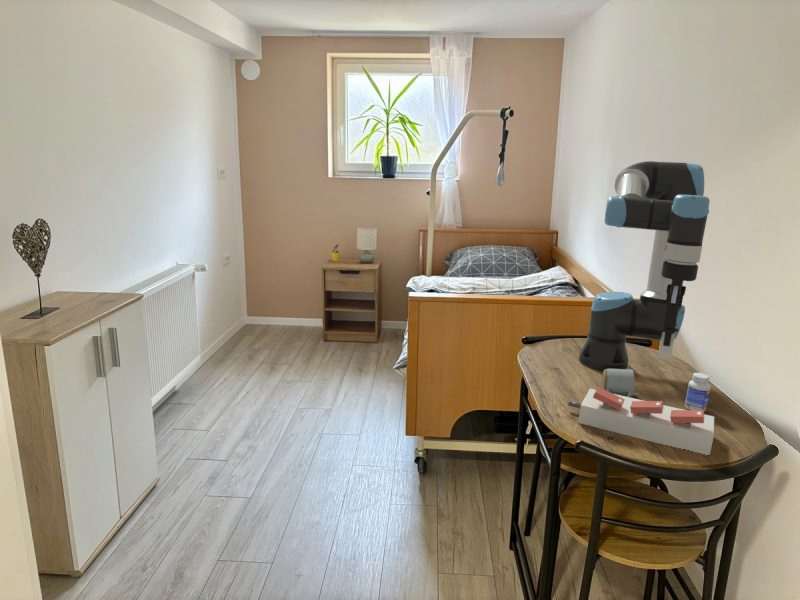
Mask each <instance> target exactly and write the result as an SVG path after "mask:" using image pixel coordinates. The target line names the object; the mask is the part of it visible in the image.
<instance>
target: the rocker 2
mask: <svg viewBox="0 0 800 600" xmlns="http://www.w3.org/2000/svg"><path fill="white" fill-rule="evenodd" d="M663 405H664V401H663V400H643V401H632V404H631V407H630V409H631V413H651V414H662V412H663V408H664V407H663Z"/></svg>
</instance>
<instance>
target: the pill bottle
mask: <svg viewBox="0 0 800 600" xmlns="http://www.w3.org/2000/svg"><path fill="white" fill-rule="evenodd" d="M709 382H710V375H708V374H707V373H706V374H705V373H702V372H694V373H693V374H692V379H691V380H690V381H689V382H688V384H687V385H688V386H687V391H686V396H685V403H684V406H685V408H686V410H704V412H706V411H707V409H708V408H707V407H708V404H709V397H710V391H711V387H712V386H711V384H710V383H709Z"/></svg>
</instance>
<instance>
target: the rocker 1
mask: <svg viewBox="0 0 800 600" xmlns="http://www.w3.org/2000/svg"><path fill="white" fill-rule="evenodd" d="M595 390H596V391H595V394H594V396H593V398H595V399H597V400H599V401H601V402H603V403H605V404H607V405H609V406H611V407H613V408H615V409H617V410H619V411H620V409H621V407H622V405H623V403H624V400H625V399H623V398H621V397H619V396H617V395H614V394H612V393H610V392H608V391H606V390H604V389H602V387H600V386H597V388H596V389H595Z"/></svg>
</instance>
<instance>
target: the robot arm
mask: <svg viewBox="0 0 800 600" xmlns="http://www.w3.org/2000/svg"><path fill="white" fill-rule="evenodd" d="M615 178H616V179H615V182H614V190H615V193H616V196H609V197H608V198H607V201H606V206H605V207H606V208H605V215H604V224H605V225H607V226H611V227H616V228H626V229H628V228H629V229H639V230H640V229H641V230H650V231H655V233H654V237H653V238H654V240H653V245H652V246H653V247H652V253H651V259H650V265H649V273H648V277H647V285H646V289H645V290H644V291H643V292H641V293H640V296H639V299H634V297H633V294H631V293H629V292H623V291H606V292H601V293H598V294H595V296H594V297H593V300H592V306H591V308H590V310H591V311H590V312H591V313H590V317H589V318H590V320H589V326H588V332H587V337H586V340H585V342H584V344H583V346H582V348H581V350H580V351H579V356H578V357H579V358H578V360H579V362H580V363H581V364H583V365H584V366H586V367H589V368H591V369H595V370H598V371H604V370H605V369H628V366H629V355H628V349H627V344H626V341H627V336H628V337H634V338H642V339H648V340H656V341H658V342H660V346H659V349H658V350H659V351H658V356H657V358H661V359H667V360H671V359H672V358H671V357H672V352H673V347H674V340H675V339H677V337H678V335H679V333H680V330H681V327H682V325H683V321H684V317H685V312H686V306H685V305H684V304H683V299H684V296H685V293H686V291H687V286H685V285H684V282H694V281H696V279H697V275H698V271H699V270H698V269H699V266H698V263H699V262H700V260H701V255H702V250H703V241H704V236H705V235H704V234H705V230H706V226H707V220H708V215H709V214H710V209H709V207H710V198H709V197H708V196H705V195H704V194H705V171H704V169H703V167H702V166H701V165H700V164H697V163H689V162H672V161H652V160H648V161H640V162H636V163H635V164H631V165H629V166H627V167H625V168H624V169H622V170H621V171H620V172H619V173H618V174H617V176H616V177H615Z"/></svg>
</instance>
